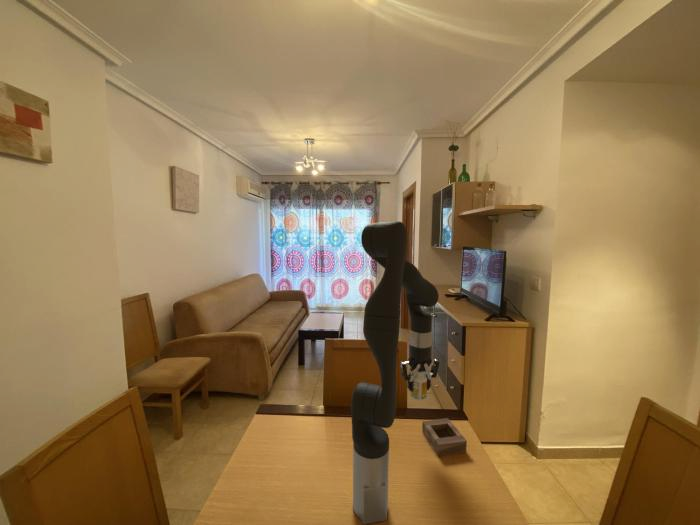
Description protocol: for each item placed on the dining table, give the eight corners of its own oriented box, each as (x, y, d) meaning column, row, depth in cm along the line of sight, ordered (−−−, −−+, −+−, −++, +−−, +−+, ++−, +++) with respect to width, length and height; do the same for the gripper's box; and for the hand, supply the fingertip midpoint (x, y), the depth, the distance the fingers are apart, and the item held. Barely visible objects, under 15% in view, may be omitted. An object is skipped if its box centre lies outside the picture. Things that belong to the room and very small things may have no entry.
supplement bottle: (425, 392, 106) (426, 366, 105) (427, 401, 101) (428, 374, 100) (409, 392, 107) (410, 366, 106) (411, 400, 101) (412, 373, 100)
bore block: (466, 452, 98) (466, 440, 98) (438, 456, 96) (438, 444, 96) (447, 428, 110) (448, 418, 109) (422, 431, 108) (422, 421, 107)
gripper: (404, 348, 97) (403, 397, 98) (445, 345, 100) (443, 393, 101) (396, 340, 104) (395, 386, 106) (434, 337, 107) (432, 382, 109)
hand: (418, 389), depth 104 cm, fingers closed on supplement bottle, 5 cm apart
